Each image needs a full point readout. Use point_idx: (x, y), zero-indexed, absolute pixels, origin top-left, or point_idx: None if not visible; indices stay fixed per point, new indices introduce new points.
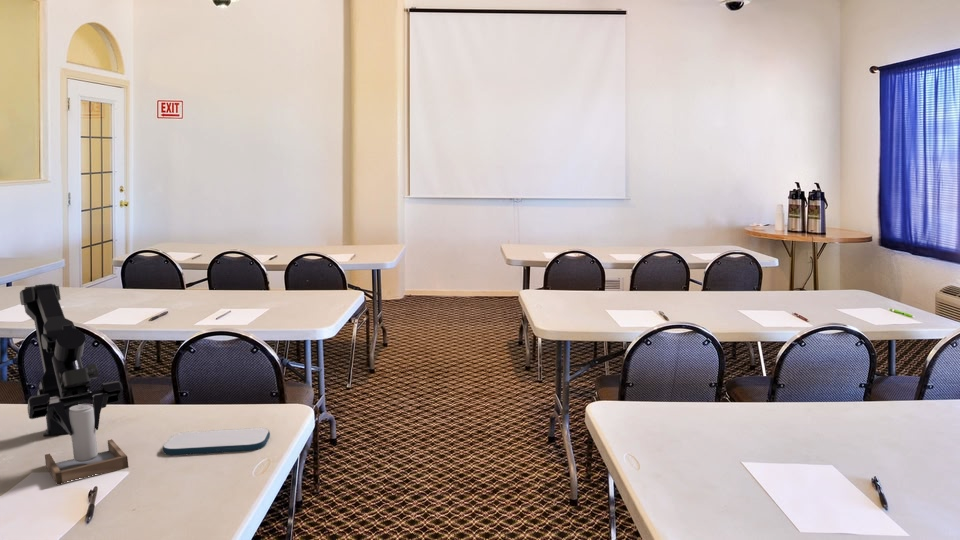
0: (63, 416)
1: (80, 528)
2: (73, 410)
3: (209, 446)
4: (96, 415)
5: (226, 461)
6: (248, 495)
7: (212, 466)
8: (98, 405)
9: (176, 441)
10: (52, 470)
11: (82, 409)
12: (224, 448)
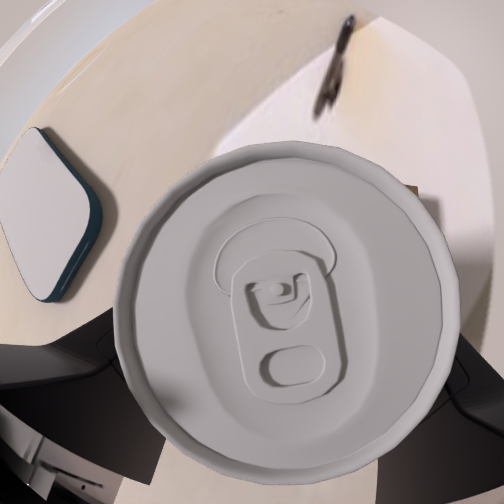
0: (461, 354)
1: (363, 12)
2: (429, 215)
3: (54, 155)
4: None
5: (81, 104)
6: (153, 7)
7: (103, 92)
8: (77, 348)
9: (59, 240)
10: None
11: (297, 187)
12: (50, 142)
